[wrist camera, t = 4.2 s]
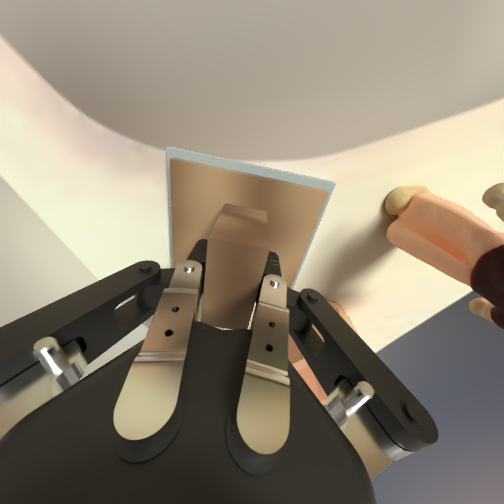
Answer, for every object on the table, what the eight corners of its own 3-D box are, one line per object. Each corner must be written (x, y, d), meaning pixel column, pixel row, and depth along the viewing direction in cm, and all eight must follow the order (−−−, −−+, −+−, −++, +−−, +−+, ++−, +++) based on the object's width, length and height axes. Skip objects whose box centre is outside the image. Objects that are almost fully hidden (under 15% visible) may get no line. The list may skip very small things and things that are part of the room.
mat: (174, 277, 18) (171, 281, 17) (170, 146, 12) (166, 147, 12) (286, 296, 19) (287, 300, 18) (332, 181, 13) (335, 183, 12)
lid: (177, 278, 17) (143, 335, 12) (174, 157, 12) (115, 172, 7) (284, 296, 18) (293, 357, 13) (325, 189, 13) (367, 223, 8)
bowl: (264, 340, 23) (266, 398, 18) (283, 291, 18) (291, 349, 13) (329, 350, 23) (347, 408, 18) (361, 305, 19) (396, 364, 14)
